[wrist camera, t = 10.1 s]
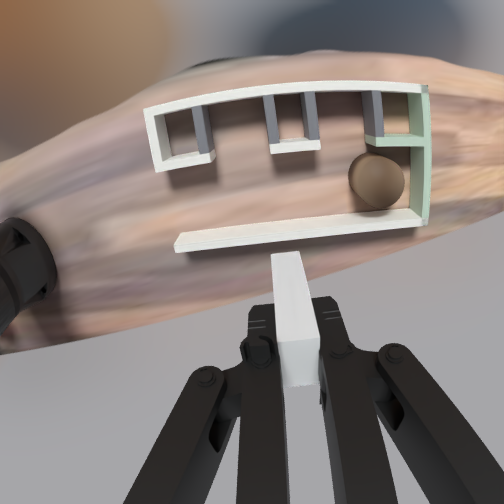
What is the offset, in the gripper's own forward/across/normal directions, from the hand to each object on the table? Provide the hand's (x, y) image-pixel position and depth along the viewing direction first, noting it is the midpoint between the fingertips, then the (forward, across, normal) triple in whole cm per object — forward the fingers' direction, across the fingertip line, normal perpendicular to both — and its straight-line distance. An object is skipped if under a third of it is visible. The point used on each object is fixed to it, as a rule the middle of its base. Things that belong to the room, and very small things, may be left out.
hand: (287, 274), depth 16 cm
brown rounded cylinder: (+19, +12, 0) cm, 22 cm away
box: (+19, +3, +3) cm, 19 cm away
